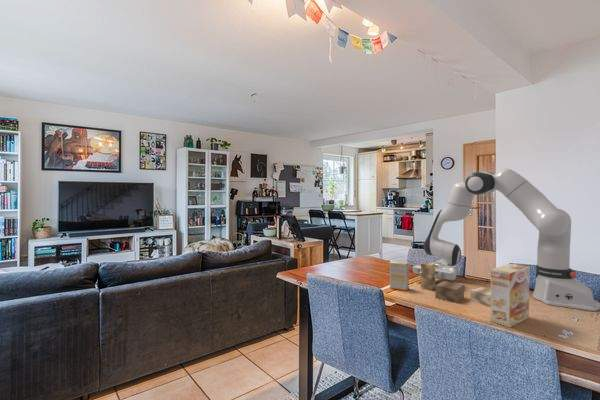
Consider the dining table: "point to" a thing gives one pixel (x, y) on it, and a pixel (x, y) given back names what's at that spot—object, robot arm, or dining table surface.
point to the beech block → (481, 296)
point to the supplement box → (399, 275)
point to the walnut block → (449, 291)
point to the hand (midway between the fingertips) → (427, 275)
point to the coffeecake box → (509, 294)
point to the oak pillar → (427, 275)
